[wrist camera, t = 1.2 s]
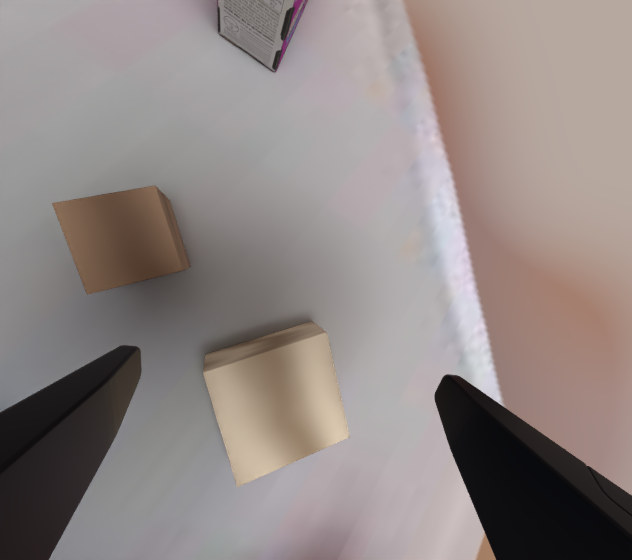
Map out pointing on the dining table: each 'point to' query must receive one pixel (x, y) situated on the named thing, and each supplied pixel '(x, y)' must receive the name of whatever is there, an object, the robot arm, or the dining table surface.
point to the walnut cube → (122, 237)
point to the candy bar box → (260, 26)
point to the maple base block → (275, 399)
